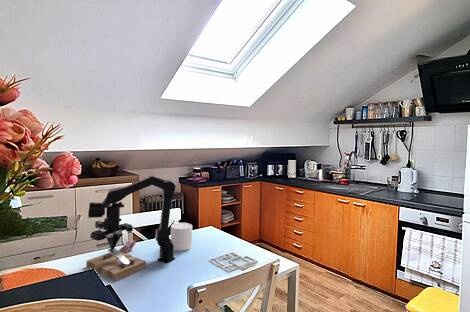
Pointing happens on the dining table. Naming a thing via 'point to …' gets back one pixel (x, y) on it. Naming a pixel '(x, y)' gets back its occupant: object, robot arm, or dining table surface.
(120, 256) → the strap
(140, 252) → the dining table surface
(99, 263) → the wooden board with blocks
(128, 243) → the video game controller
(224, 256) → the floor plan model
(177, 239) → the cup
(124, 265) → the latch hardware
